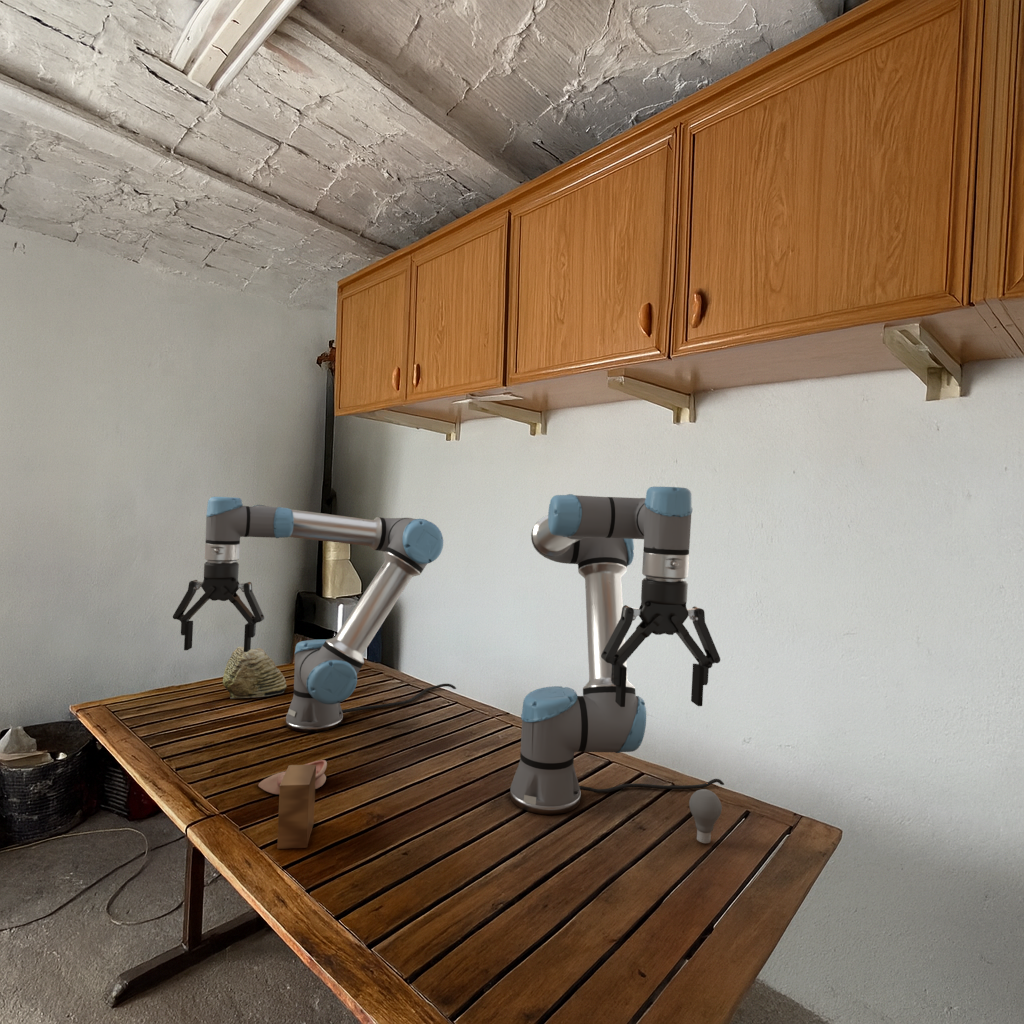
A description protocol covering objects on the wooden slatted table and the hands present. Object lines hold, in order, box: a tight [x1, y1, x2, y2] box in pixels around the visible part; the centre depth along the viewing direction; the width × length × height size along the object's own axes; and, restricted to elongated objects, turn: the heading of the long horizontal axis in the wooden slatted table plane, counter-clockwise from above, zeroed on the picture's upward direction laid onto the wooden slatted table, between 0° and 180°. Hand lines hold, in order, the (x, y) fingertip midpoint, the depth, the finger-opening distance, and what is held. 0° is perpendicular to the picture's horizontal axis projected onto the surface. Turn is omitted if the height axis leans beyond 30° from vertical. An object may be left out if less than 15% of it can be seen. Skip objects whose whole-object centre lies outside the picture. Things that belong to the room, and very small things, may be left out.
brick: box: [277, 764, 316, 850], centre depth 118 cm, size 5×9×12 cm, turn 9°
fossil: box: [222, 646, 288, 699], centre depth 198 cm, size 9×18×15 cm, turn 132°
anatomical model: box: [257, 759, 328, 795], centre depth 139 cm, size 13×4×12 cm
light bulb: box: [688, 788, 723, 844], centre depth 122 cm, size 6×6×10 cm
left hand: (217, 650), depth 151 cm, fingers open, 13 cm apart
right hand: (658, 704), depth 107 cm, fingers open, 13 cm apart
